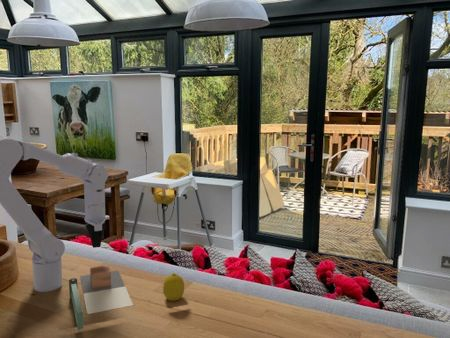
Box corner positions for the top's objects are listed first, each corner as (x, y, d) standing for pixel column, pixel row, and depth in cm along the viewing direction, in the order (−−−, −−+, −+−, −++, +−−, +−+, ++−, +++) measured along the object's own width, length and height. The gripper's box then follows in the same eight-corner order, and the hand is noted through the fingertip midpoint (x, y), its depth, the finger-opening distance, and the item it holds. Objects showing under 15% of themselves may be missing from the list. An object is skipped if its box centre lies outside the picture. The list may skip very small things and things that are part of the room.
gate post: (69, 300, 99) (68, 279, 98) (77, 299, 100) (76, 277, 99) (70, 304, 97) (69, 282, 96) (78, 302, 98) (77, 280, 97)
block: (90, 281, 108) (90, 267, 108) (108, 278, 110) (108, 265, 110) (92, 288, 104) (92, 275, 103) (111, 285, 106) (110, 272, 105)
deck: (80, 279, 111) (80, 276, 111) (118, 273, 116) (118, 270, 116) (87, 317, 91) (87, 314, 91) (133, 308, 96) (133, 305, 96)
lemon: (184, 296, 103) (185, 269, 101) (183, 307, 97) (183, 278, 96) (164, 296, 102) (164, 268, 101) (161, 307, 97) (161, 277, 96)
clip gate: (76, 297, 98) (76, 283, 97) (83, 328, 84) (82, 311, 84) (71, 298, 97) (71, 284, 96) (77, 329, 84) (77, 312, 83)
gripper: (112, 207, 107) (113, 253, 110) (105, 196, 120) (106, 237, 123) (86, 210, 104) (88, 256, 107) (81, 198, 117) (83, 240, 120)
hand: (96, 246), depth 114 cm, fingers closed
